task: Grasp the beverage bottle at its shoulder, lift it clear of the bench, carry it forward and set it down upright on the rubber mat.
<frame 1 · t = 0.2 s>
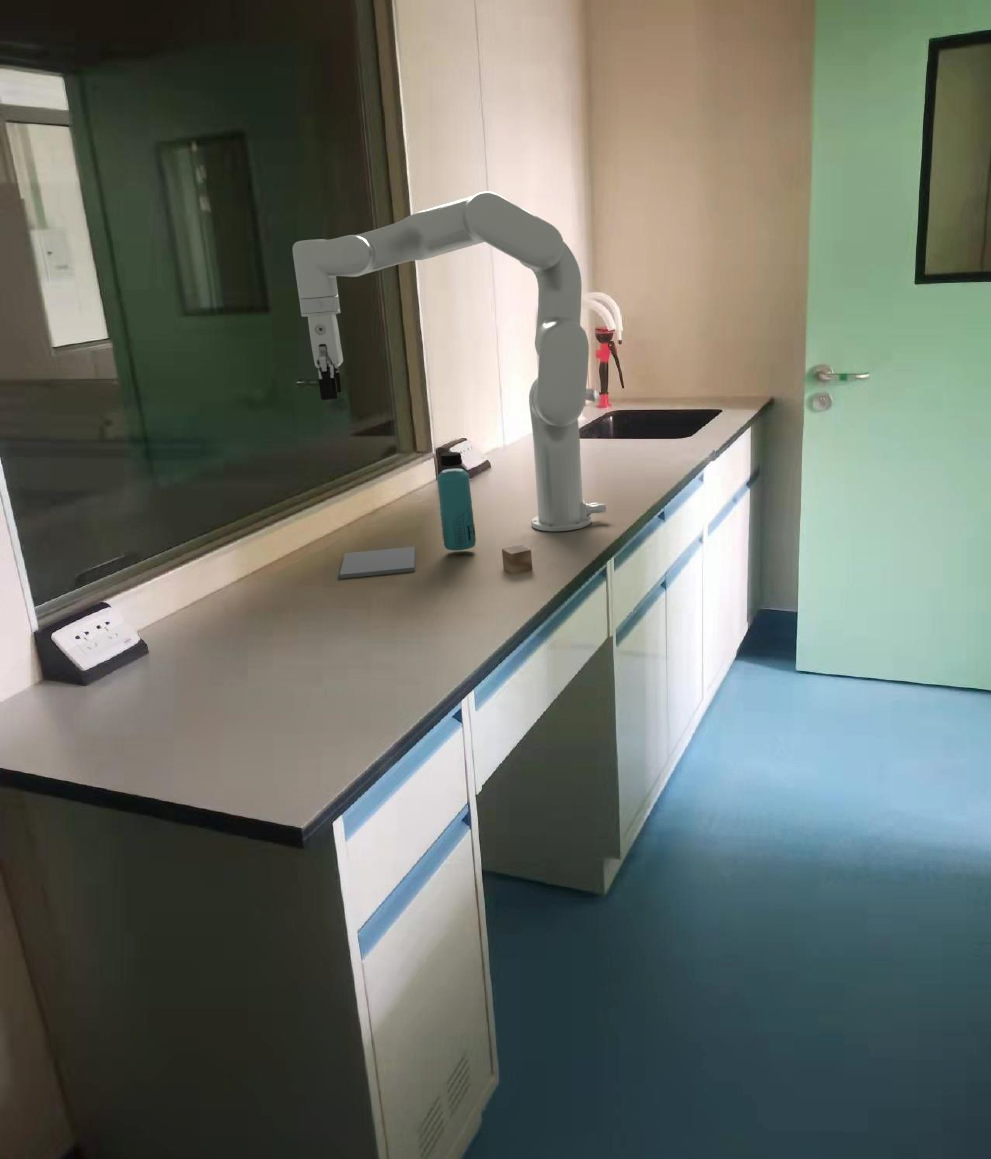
hand: (331, 395, 196), 31 cm above the worktop, tool pointing down, fingers open, 9 cm apart
beverage bottle: (460, 554, 194), on the worktop
rubber mat: (378, 564, 192), on the worktop
walnut block: (517, 570, 181), on the worktop
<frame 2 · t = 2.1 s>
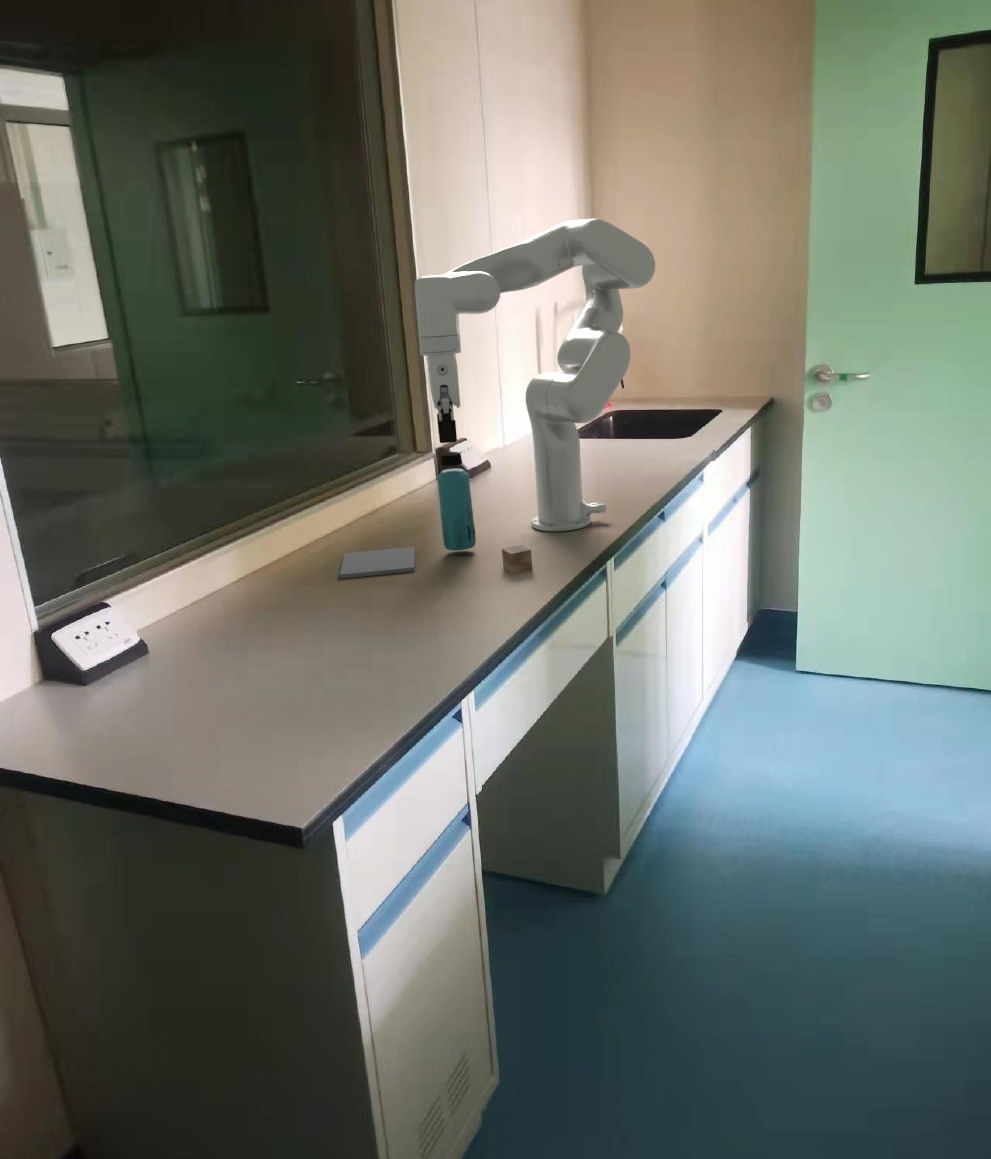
hand: (447, 438, 187), 23 cm above the worktop, tool pointing down, fingers open, 9 cm apart
nothing on the worktop moved.
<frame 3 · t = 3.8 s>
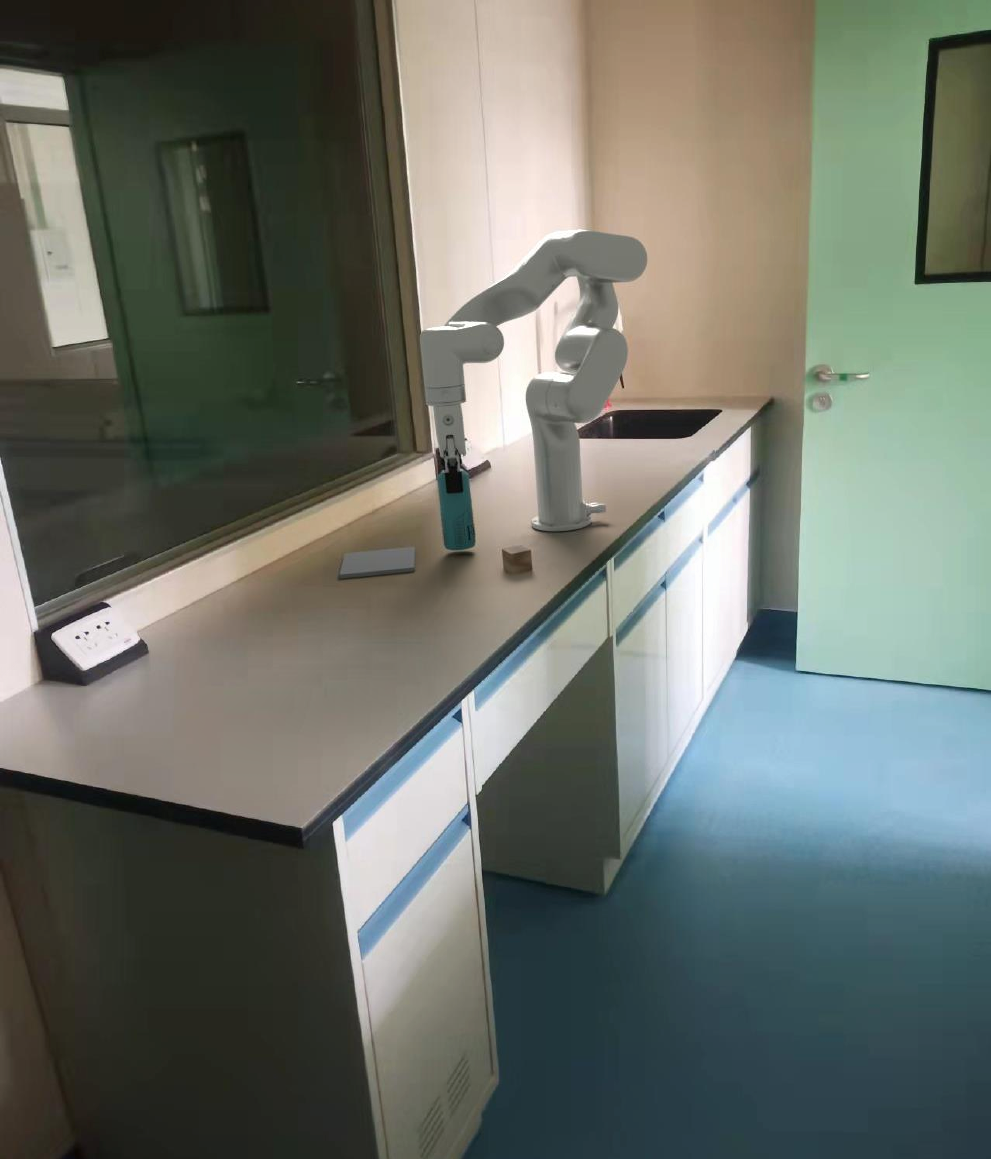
hand: (454, 487, 190), 13 cm above the worktop, tool pointing down, fingers closed on beverage bottle, 6 cm apart
beverage bottle: (460, 554, 194), on the worktop, touching gripper
everything else where it was.
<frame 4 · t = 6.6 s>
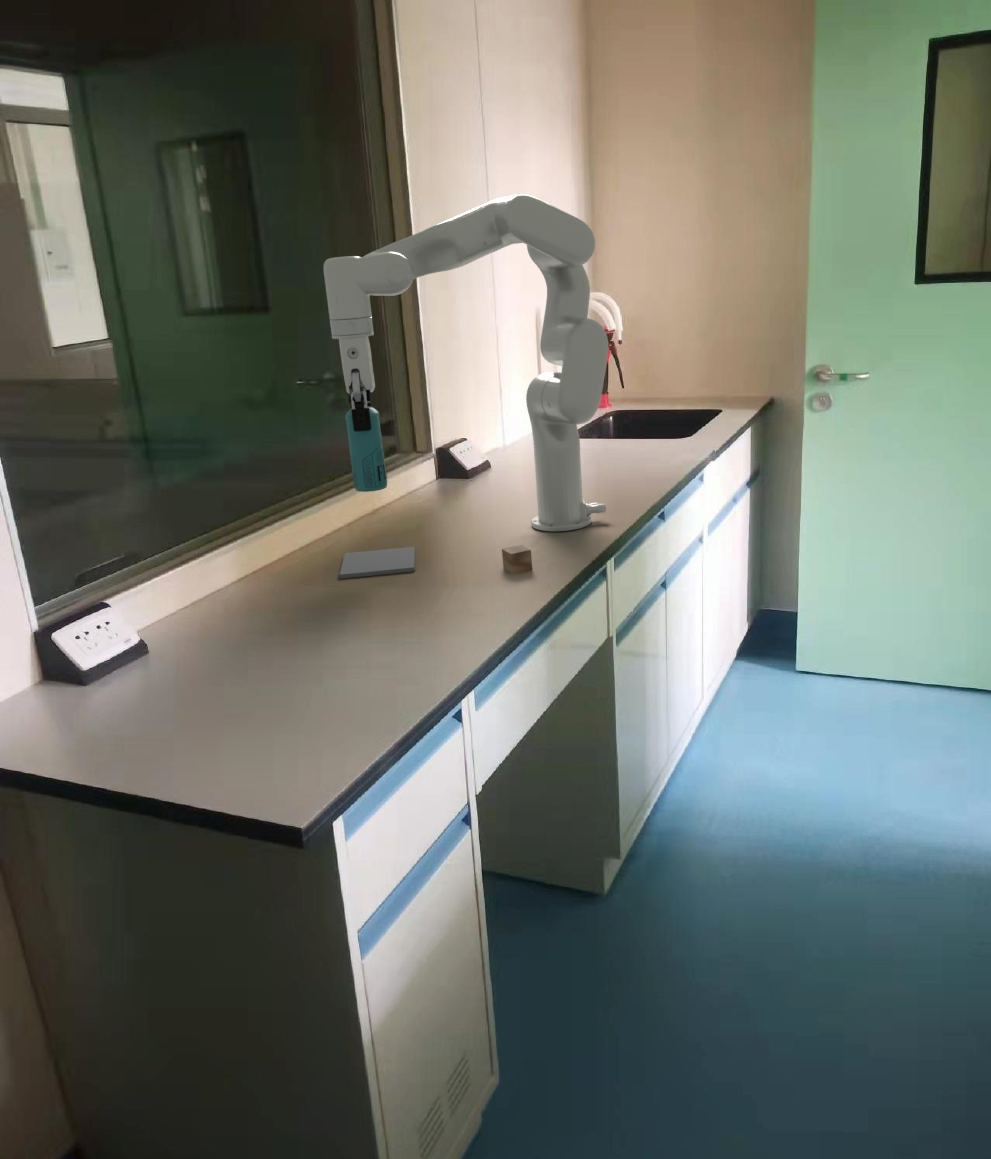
hand: (363, 426, 183), 27 cm above the worktop, tool pointing down, fingers closed on beverage bottle, 6 cm apart
beverage bottle: (371, 496, 187), point 13 cm above the worktop, touching gripper
everything else where it was.
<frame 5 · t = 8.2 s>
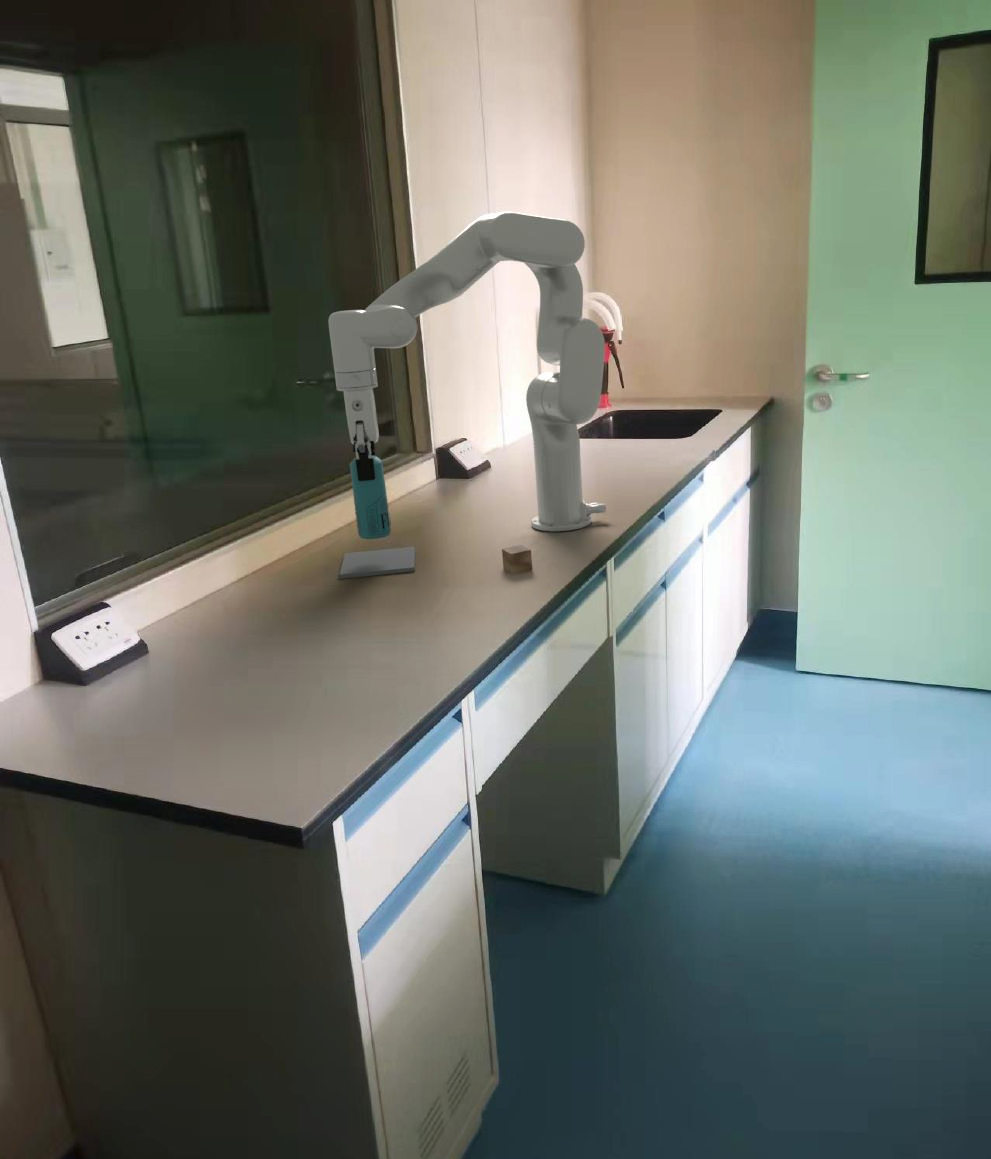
hand: (367, 475, 186), 18 cm above the worktop, tool pointing down, fingers closed on beverage bottle, 6 cm apart
beverage bottle: (375, 543, 190), point 4 cm above the worktop, touching gripper
everything else where it was.
when the fingers open (15 cm above the worktop, at t = 9.7 s): beverage bottle stays where it is, resting on rubber mat.
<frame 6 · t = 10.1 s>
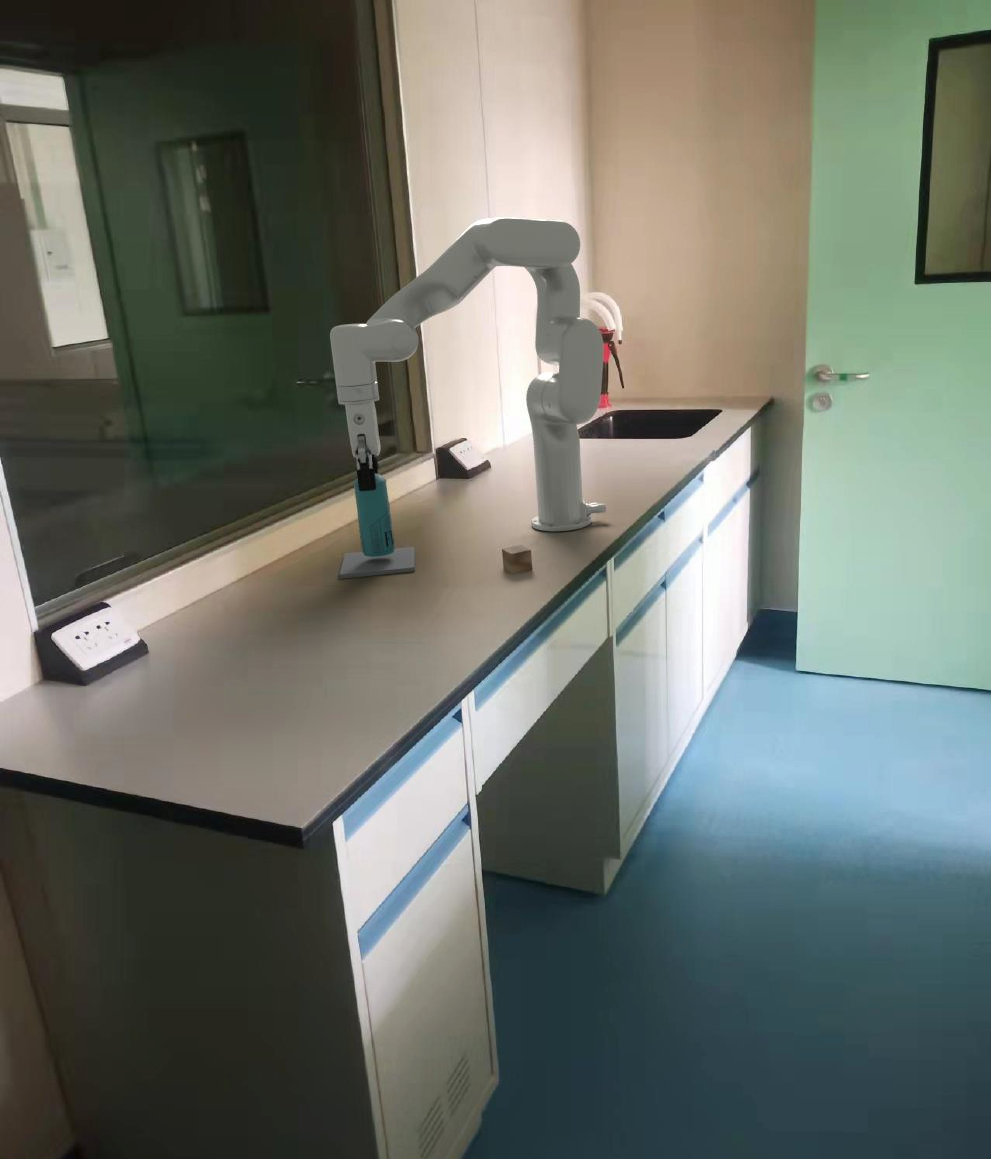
hand: (369, 484, 187), 16 cm above the worktop, tool pointing down, fingers open, 9 cm apart
beverage bottle: (379, 560, 191), point 1 cm above the worktop, touching rubber mat
everything else where it was.
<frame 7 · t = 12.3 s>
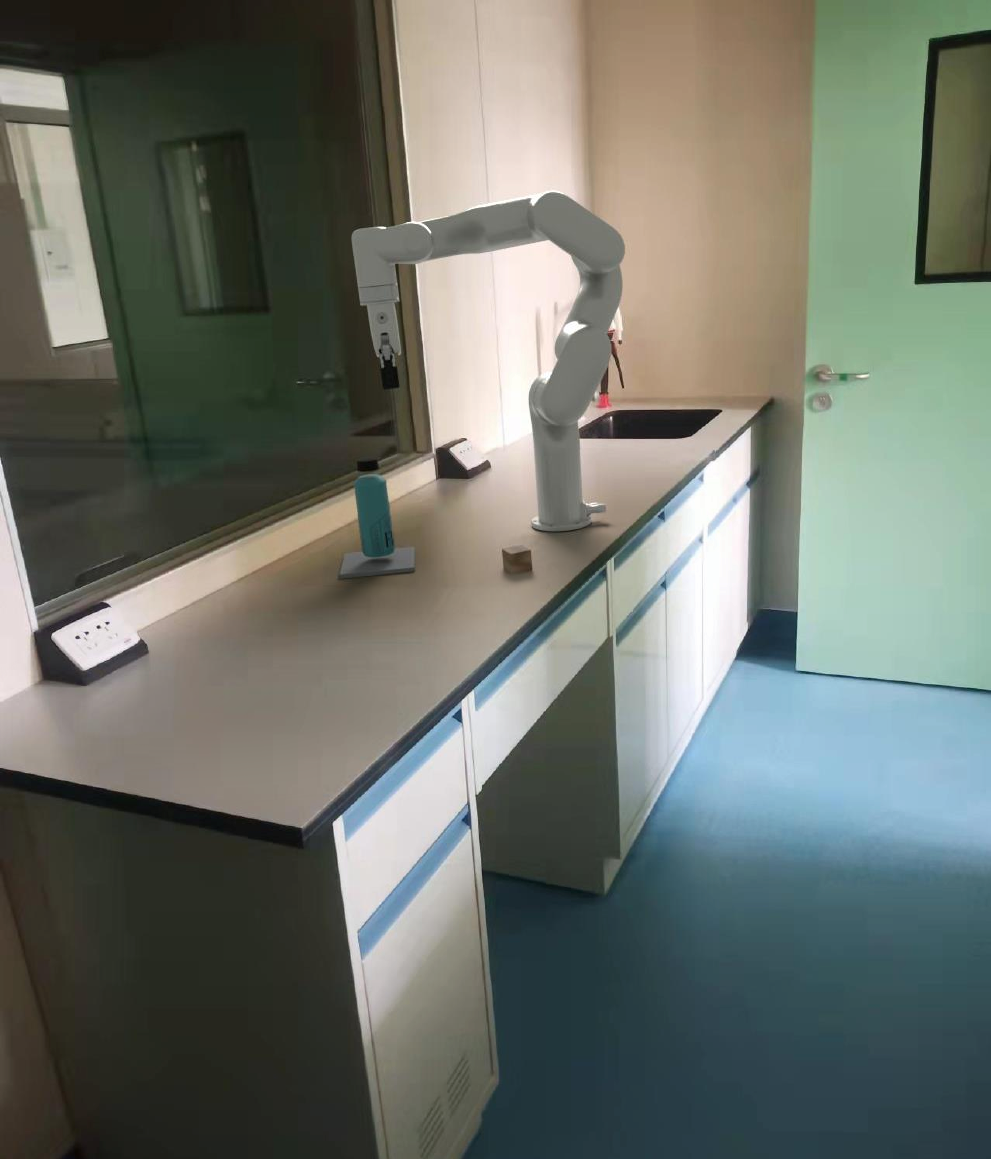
hand: (390, 385, 195), 32 cm above the worktop, tool pointing down, fingers open, 9 cm apart
nothing on the worktop moved.
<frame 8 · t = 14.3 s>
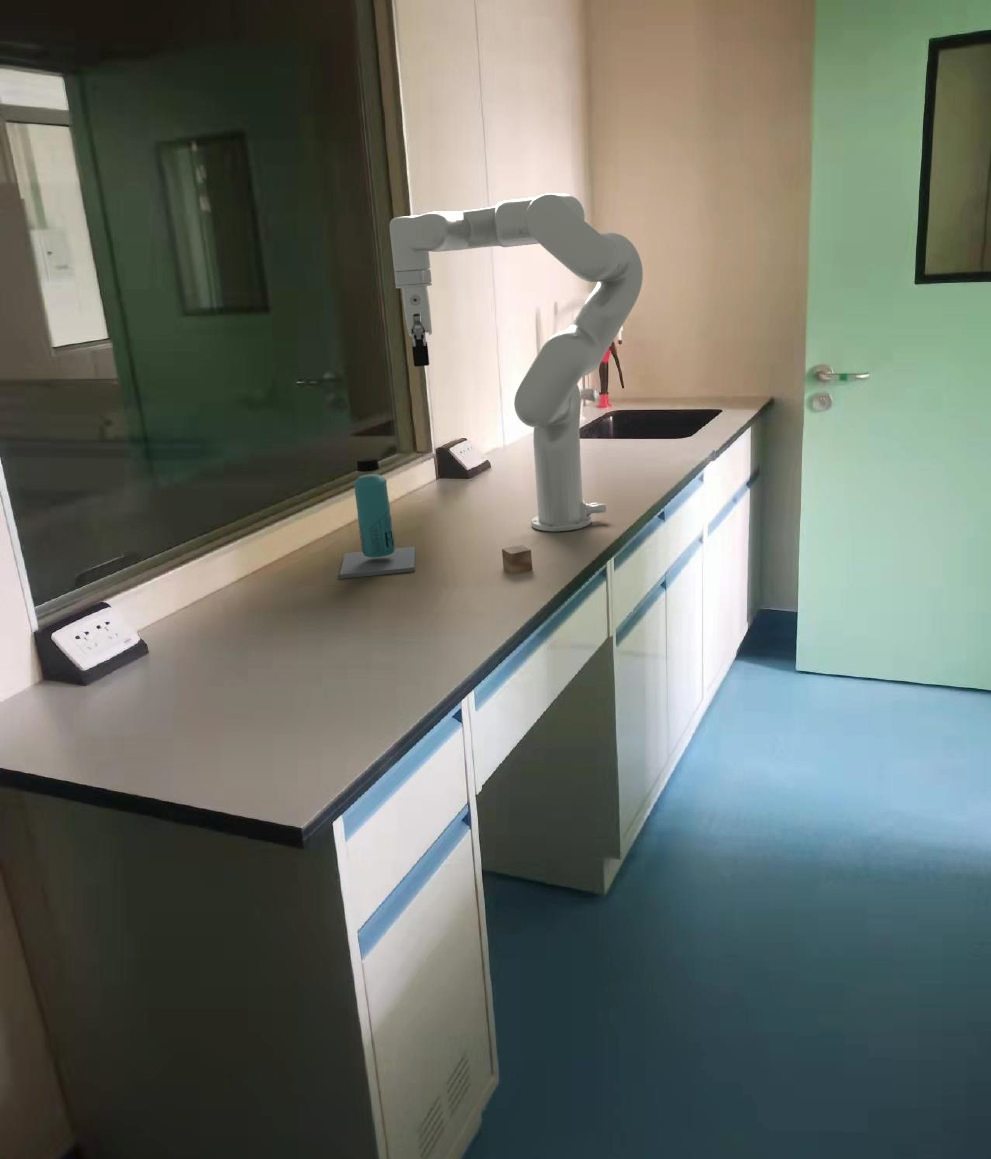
hand: (421, 363, 210), 34 cm above the worktop, tool pointing down, fingers open, 9 cm apart
nothing on the worktop moved.
at the end: beverage bottle inside the target area (0.2 cm from its centre), point 0.6 cm above the worktop; beverage bottle tilted 0°; the gripper is holding nothing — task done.
